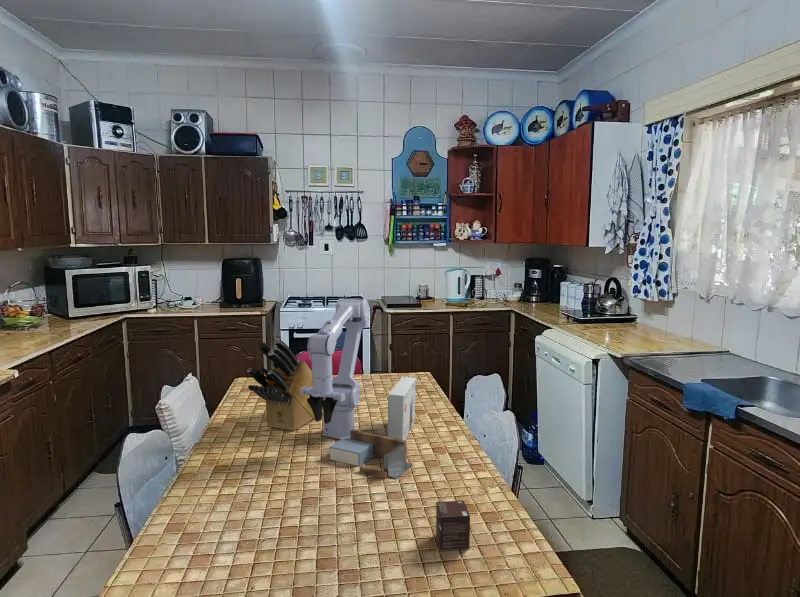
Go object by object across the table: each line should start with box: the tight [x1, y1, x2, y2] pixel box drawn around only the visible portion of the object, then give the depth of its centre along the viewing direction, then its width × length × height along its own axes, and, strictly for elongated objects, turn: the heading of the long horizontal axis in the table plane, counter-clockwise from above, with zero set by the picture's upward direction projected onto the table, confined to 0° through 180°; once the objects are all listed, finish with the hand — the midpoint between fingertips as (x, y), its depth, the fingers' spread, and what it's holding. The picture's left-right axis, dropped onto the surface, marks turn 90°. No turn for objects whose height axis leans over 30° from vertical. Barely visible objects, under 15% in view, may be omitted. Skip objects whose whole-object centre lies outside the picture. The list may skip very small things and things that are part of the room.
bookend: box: [383, 444, 413, 480], centre depth 136 cm, size 4×9×6 cm, turn 151°
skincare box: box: [386, 376, 416, 441], centre depth 162 cm, size 21×6×16 cm, turn 168°
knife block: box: [246, 338, 325, 432], centre depth 172 cm, size 11×35×31 cm, turn 156°
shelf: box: [350, 429, 408, 479], centre depth 141 cm, size 18×12×6 cm, turn 61°
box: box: [435, 499, 471, 552], centre depth 104 cm, size 6×6×7 cm
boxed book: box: [329, 438, 374, 467], centre depth 144 cm, size 10×7×4 cm
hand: (323, 421), depth 147 cm, fingers open, 3 cm apart
